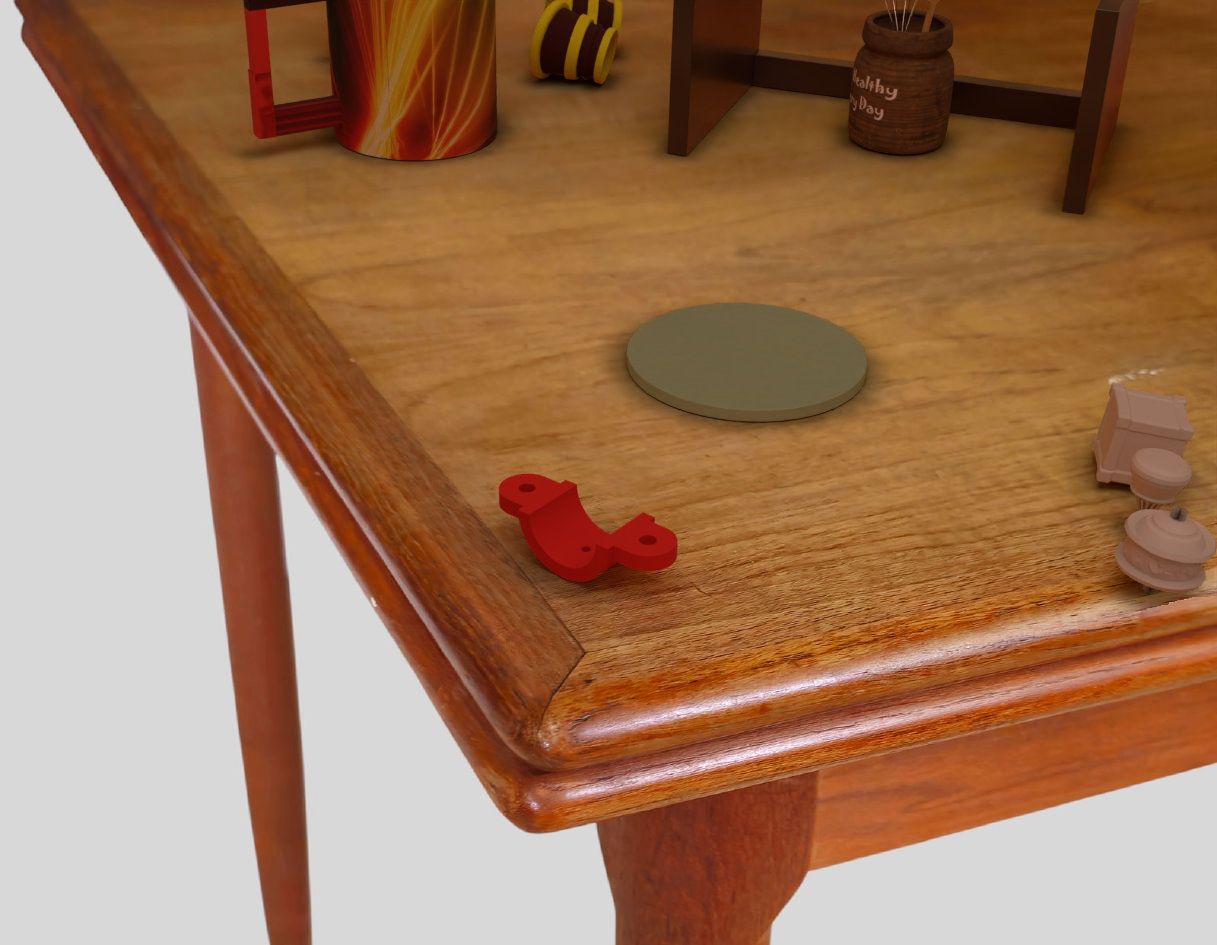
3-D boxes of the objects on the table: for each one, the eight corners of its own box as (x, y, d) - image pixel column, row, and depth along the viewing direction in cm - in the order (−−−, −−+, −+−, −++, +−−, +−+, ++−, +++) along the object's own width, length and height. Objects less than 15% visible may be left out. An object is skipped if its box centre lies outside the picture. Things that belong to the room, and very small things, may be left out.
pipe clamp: (529, 464, 71) (530, 511, 72) (481, 493, 69) (483, 541, 70) (694, 534, 67) (692, 582, 68) (647, 566, 65) (646, 616, 66)
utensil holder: (915, 118, 111) (939, -85, 105) (966, 152, 107) (995, -58, 100) (829, 127, 110) (847, -79, 103) (876, 163, 105) (900, -51, 98)
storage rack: (739, 77, 117) (750, -101, 111) (1115, 127, 111) (1149, -58, 105) (667, 153, 105) (675, -41, 99) (1083, 214, 99) (1119, 11, 93)
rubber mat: (909, 401, 80) (910, 389, 80) (680, 438, 77) (680, 425, 77) (802, 301, 89) (804, 289, 89) (592, 331, 86) (592, 319, 85)
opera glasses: (603, 104, 115) (620, 27, 112) (521, 84, 114) (537, 7, 112) (613, 57, 123) (630, -16, 120) (537, 38, 122) (552, -35, 120)
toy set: (1192, 390, 75) (1163, 466, 77) (1110, 374, 75) (1084, 451, 77) (1233, 542, 65) (1200, 625, 67) (1139, 523, 65) (1109, 606, 67)
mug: (250, 156, 104) (230, -61, 97) (404, 94, 113) (396, -108, 106) (379, 194, 99) (368, -30, 92) (529, 126, 109) (528, -82, 102)
